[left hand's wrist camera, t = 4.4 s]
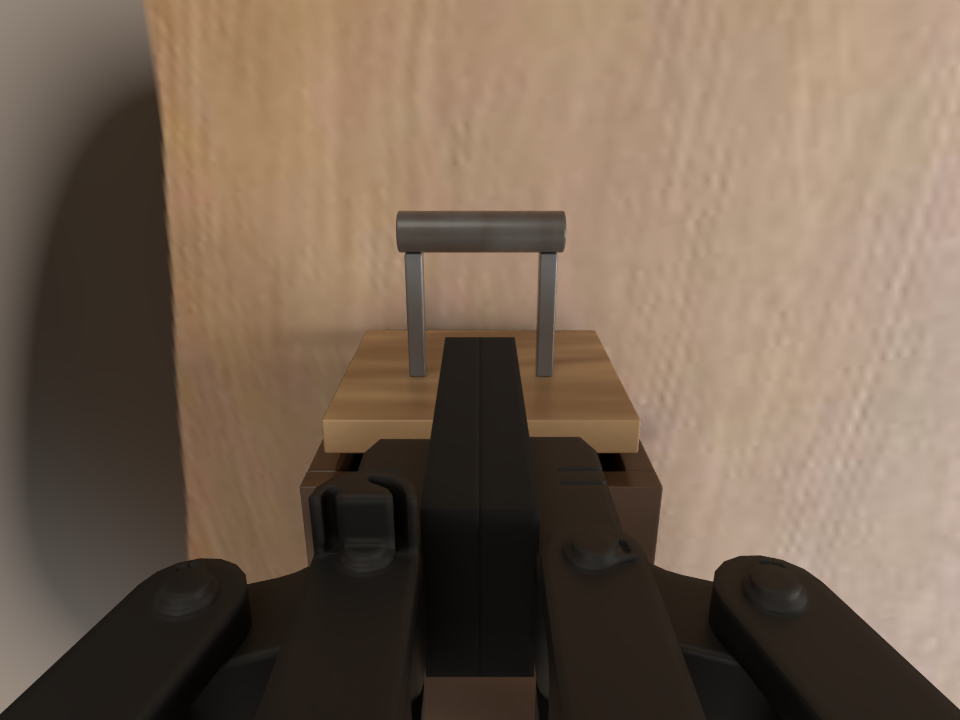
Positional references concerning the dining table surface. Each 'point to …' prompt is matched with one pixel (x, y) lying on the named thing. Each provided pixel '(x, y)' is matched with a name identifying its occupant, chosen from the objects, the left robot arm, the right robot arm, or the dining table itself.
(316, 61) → the dining table surface
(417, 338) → the drawer
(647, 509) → the cabinet
